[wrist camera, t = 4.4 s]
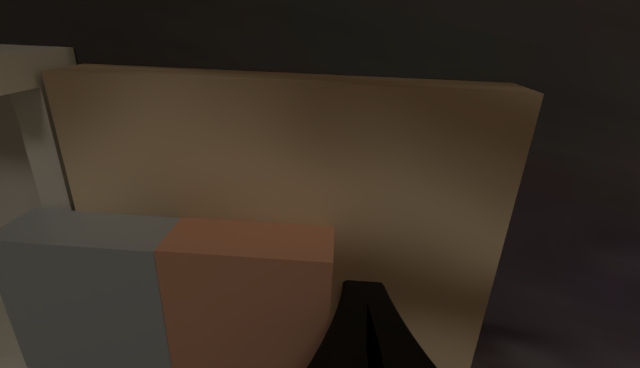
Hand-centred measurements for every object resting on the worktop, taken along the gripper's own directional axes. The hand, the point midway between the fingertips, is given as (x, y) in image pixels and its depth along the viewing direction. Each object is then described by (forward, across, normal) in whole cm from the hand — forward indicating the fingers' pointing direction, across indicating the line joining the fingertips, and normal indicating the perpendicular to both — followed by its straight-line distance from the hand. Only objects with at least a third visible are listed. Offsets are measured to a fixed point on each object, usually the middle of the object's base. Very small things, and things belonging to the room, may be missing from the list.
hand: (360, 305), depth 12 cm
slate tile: (+1, +8, 0) cm, 9 cm away
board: (+3, +3, 0) cm, 4 cm away
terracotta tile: (+1, +4, 0) cm, 4 cm away
